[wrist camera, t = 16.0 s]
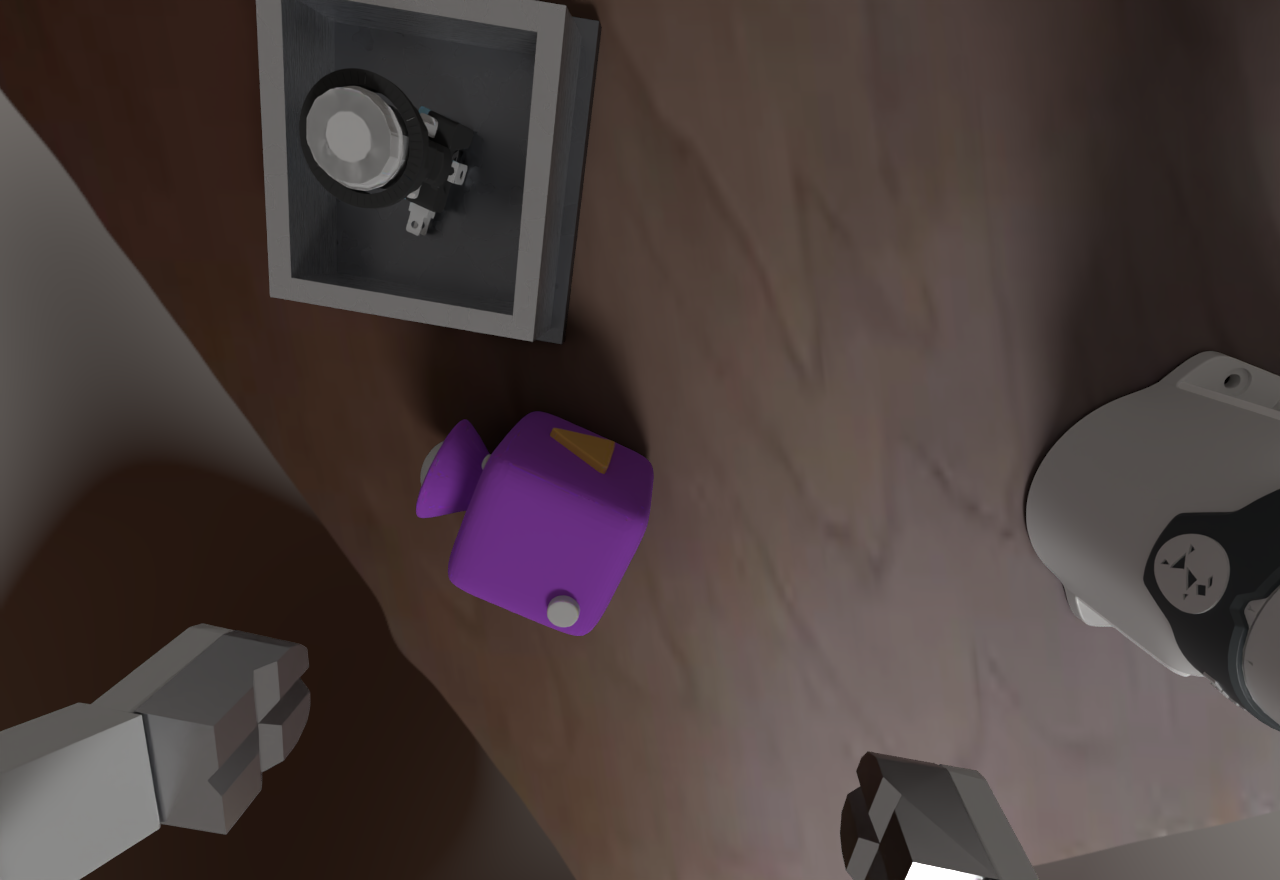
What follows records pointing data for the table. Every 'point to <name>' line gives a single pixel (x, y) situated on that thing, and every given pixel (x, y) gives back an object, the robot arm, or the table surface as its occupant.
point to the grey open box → (496, 161)
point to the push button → (380, 145)
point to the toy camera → (540, 517)
